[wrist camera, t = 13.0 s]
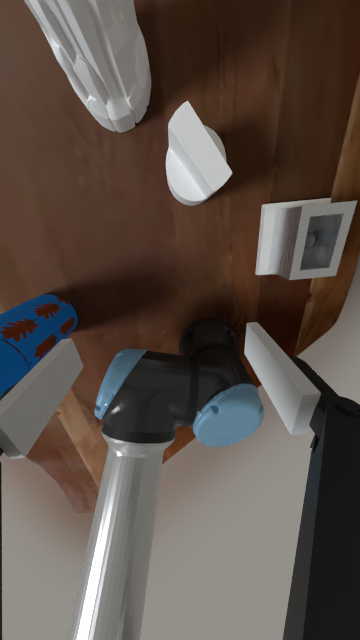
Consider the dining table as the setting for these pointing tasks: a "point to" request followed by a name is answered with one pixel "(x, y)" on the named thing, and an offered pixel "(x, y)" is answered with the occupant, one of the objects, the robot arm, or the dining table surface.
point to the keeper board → (267, 230)
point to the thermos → (32, 335)
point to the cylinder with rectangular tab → (194, 158)
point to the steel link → (291, 236)
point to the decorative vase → (100, 56)
